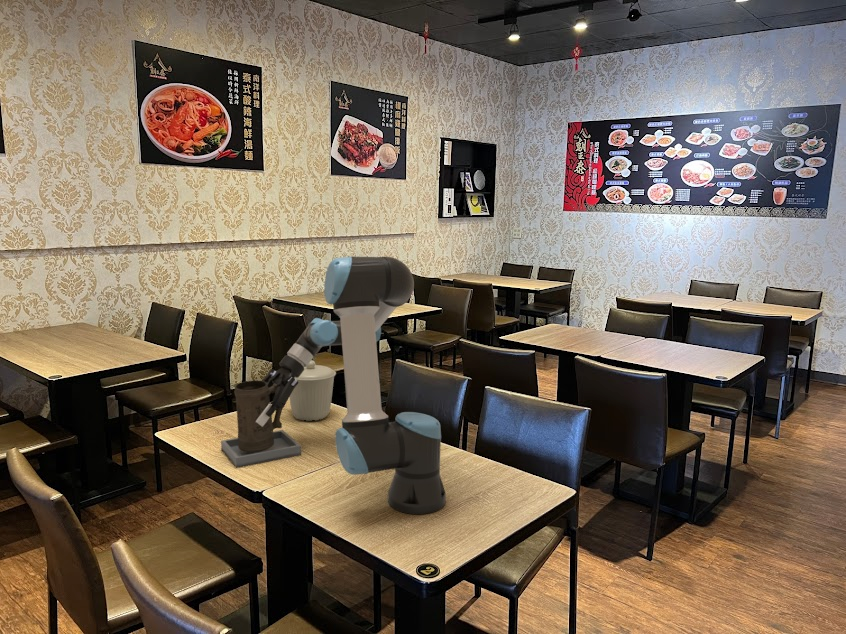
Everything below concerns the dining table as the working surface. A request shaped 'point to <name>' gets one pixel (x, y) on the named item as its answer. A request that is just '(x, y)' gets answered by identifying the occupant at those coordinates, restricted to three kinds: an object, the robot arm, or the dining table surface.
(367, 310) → the robot arm
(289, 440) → the tray
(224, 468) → the dining table surface
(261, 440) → the beer stein
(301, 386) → the canister
